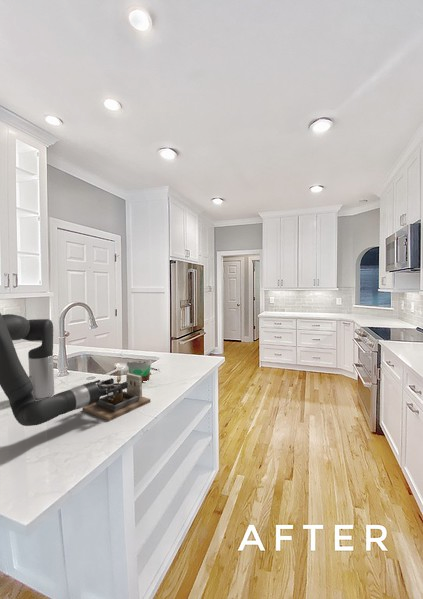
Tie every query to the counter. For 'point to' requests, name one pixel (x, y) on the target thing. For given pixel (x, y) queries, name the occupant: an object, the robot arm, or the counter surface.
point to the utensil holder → (117, 398)
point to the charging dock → (130, 402)
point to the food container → (140, 369)
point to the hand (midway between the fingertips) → (120, 382)
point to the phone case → (155, 371)
